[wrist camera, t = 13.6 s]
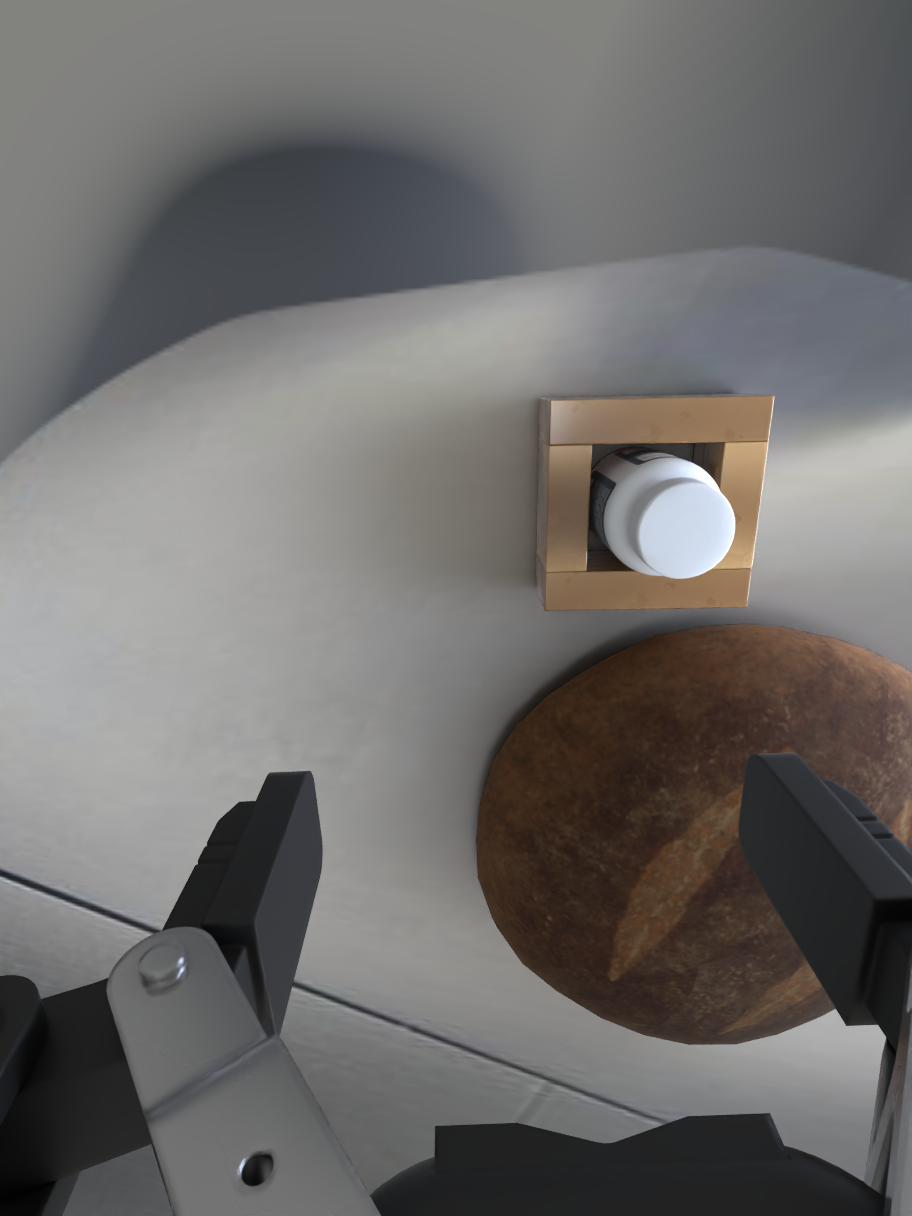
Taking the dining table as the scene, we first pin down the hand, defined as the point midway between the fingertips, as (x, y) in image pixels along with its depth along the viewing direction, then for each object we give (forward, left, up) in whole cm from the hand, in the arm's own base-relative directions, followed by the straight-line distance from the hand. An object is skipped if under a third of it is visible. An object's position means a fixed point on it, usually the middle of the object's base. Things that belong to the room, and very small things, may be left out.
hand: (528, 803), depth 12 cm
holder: (-2, +8, -25) cm, 26 cm away
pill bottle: (-1, +8, -25) cm, 26 cm away
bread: (+18, +14, -25) cm, 34 cm away
